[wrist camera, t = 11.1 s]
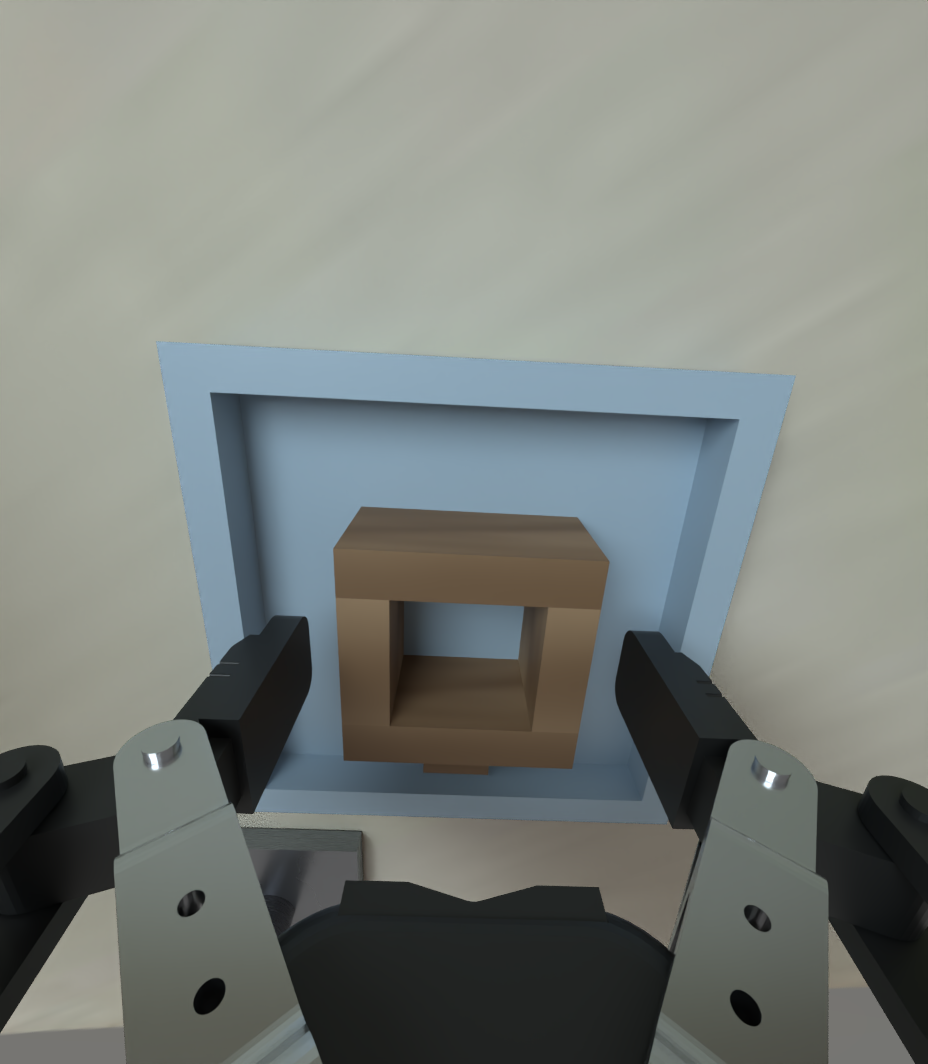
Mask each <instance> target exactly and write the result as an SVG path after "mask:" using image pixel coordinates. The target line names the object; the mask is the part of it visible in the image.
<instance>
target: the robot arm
mask: <svg viewBox="0 0 928 1064" xmlns="http://www.w3.org/2000/svg"><path fill="white" fill-rule="evenodd" d="M311 680H312V659H311V647H310V634H309V623H308V619H307V617H305V616H284V615H275V616H273V617H272V618H271V620H270V621H269V622H268V624H267V625H266V626H265V628H264V629H263V631H262V632H261V633H260V635H248V636H247V637H245V638H244V639H242V640H241V641H239V642H238V643H236V644H235V645H233V646H232V647H231V648H230V649H229V650H228V651H227V653H226V654H225V655H224V656H223V658H222V659H221V660H220V663H219V664H217V665H216V667H215V668H214V669H213V670H212V672H211V673H210V676H209V677H207V678H206V679H205V680H204V682H203V683H202V684H201V685H200V687H199V688H198V689H197V690H196V692H195V693H194V694H193V695H192V697H191V698H190V699H189V700H188V702H187V703H186V704H185V705H184V707H183V708H182V709H181V710H180V712H179V713H178V714H177V716H176V717H175V718H174V719H173V720H171V721H166V722H163V723H159V724H156V725H154V726H151V727H149V728H147V729H145V730H143V731H141V732H140V733H138V734H137V735H135V736H134V737H132V738H131V739H130V740H128V741H127V742H126V743H125V744H124V745H123V746H122V748H121V749H120V750H119V751H118V753H117V755H115V756H111V757H107V758H102V759H97V760H92V761H87V762H82V763H77V764H72V765H67V766H63V763H62V760H61V757H60V754H59V752H58V751H57V750H56V749H54V748H52V747H50V746H44V745H34V746H26V747H21V748H17V749H13V750H10V751H7V752H5V753H2V754H0V1033H1V1031H2V1030H3V1028H4V1026H5V1025H6V1023H7V1022H8V1020H9V1019H10V1017H11V1015H12V1014H13V1012H14V1011H15V1009H16V1008H17V1006H18V1004H19V1003H20V1001H21V1000H22V998H23V997H24V995H25V993H26V992H27V990H28V989H29V987H30V986H31V984H32V982H33V981H34V979H35V978H36V976H37V975H38V973H39V971H40V970H41V968H42V967H43V965H44V964H45V962H46V960H47V959H48V957H49V956H50V954H51V953H52V951H53V949H54V948H55V946H56V945H57V943H58V942H59V940H60V938H61V937H62V935H63V934H64V932H65V931H66V929H67V927H68V926H69V924H70V923H71V921H72V920H73V918H74V916H75V915H76V913H77V912H78V910H79V909H80V907H81V905H82V904H83V902H84V901H85V899H86V898H87V896H88V895H90V894H94V893H97V892H101V891H104V890H108V889H111V888H115V897H116V912H117V928H118V943H119V959H120V975H121V990H122V1006H123V1021H124V1037H125V1052H126V1064H828V920H829V921H830V923H831V925H832V926H833V928H834V930H835V931H836V933H837V934H838V936H839V938H840V939H841V941H842V943H843V944H844V946H845V948H846V949H847V951H848V953H849V954H850V956H851V958H852V959H853V961H854V963H855V964H856V966H857V968H858V969H859V971H860V973H861V974H862V976H863V978H864V979H865V981H866V983H867V984H868V986H869V988H870V989H871V991H872V993H873V994H874V996H875V998H876V999H877V1001H878V1003H879V1004H880V1006H881V1008H882V1009H883V1011H884V1013H885V1014H886V1016H887V1018H888V1019H889V1021H890V1023H891V1024H892V1026H893V1027H894V1029H895V1031H896V1033H897V1034H898V1036H899V1037H900V1039H901V1041H902V1043H903V1044H904V1046H905V1047H906V1049H907V1050H908V1052H909V1054H910V1056H911V1057H912V1059H913V1061H914V1062H915V1064H928V789H927V788H925V787H923V786H921V785H918V784H916V783H914V782H911V781H908V780H905V779H902V778H898V777H893V776H876V777H874V778H872V779H871V780H870V781H869V783H868V785H867V787H866V789H865V791H864V793H863V794H860V793H857V792H853V791H850V790H846V789H842V788H839V787H835V786H832V785H828V784H824V783H821V782H818V781H815V779H814V777H813V775H812V774H811V773H810V771H809V770H808V769H807V768H806V767H805V766H804V765H803V764H802V763H801V762H800V761H799V760H797V759H796V758H795V757H793V756H792V755H790V754H789V753H787V752H786V751H784V750H782V749H780V748H778V747H776V746H774V745H771V744H768V743H765V742H762V741H758V740H757V739H756V737H755V736H754V735H753V734H752V732H751V731H750V730H749V728H748V727H747V726H746V725H745V723H744V722H743V721H742V719H741V718H740V717H739V715H738V714H737V713H736V712H735V710H734V709H733V708H732V706H731V705H730V704H729V703H728V701H727V700H726V699H725V697H722V694H721V692H720V691H719V690H718V688H717V687H716V686H715V684H712V681H711V679H710V678H709V677H708V675H707V674H706V673H705V672H704V670H703V669H702V668H701V666H700V665H698V664H697V663H695V662H694V661H693V660H691V659H690V658H689V657H687V656H686V655H684V654H683V653H682V652H675V651H674V650H673V649H672V647H671V646H670V644H669V643H668V642H667V640H666V639H665V638H664V636H663V635H662V634H661V633H660V632H658V631H634V630H629V631H627V632H626V634H625V636H624V640H623V645H622V650H621V655H620V660H619V665H618V670H617V675H616V680H615V697H616V702H617V705H618V708H619V710H620V712H621V715H622V717H623V719H624V721H625V724H626V726H627V728H628V730H629V733H630V735H631V737H632V739H633V741H634V744H635V746H636V748H637V750H638V753H639V755H640V757H641V759H642V762H643V764H644V766H645V768H646V770H647V773H648V775H649V777H650V779H651V782H652V784H653V786H654V788H655V791H656V793H657V795H658V797H659V799H660V802H661V804H662V806H663V808H664V811H665V813H666V815H667V817H668V819H669V822H670V824H671V826H672V828H673V829H695V831H696V834H697V836H698V838H699V842H698V845H697V848H696V851H695V855H694V858H693V862H692V865H691V869H690V872H689V876H688V880H687V883H686V887H685V890H684V894H683V897H682V901H681V904H680V908H679V911H678V915H677V918H676V922H675V926H674V929H673V932H672V936H671V939H670V942H669V946H668V949H667V948H666V947H665V946H664V945H663V944H662V943H661V942H659V941H658V940H656V939H655V938H654V937H652V936H651V935H650V934H648V933H647V932H646V931H644V930H642V929H641V928H639V927H637V926H636V925H634V924H632V923H631V922H629V921H627V920H624V919H622V918H620V917H618V916H616V915H613V914H610V913H607V912H605V909H604V906H603V902H602V898H601V894H600V890H599V887H570V886H534V887H530V888H526V889H523V890H519V891H515V892H512V893H508V894H504V895H501V896H497V897H493V898H490V899H486V900H482V901H477V902H470V901H466V900H463V899H460V898H456V897H453V896H450V895H447V894H444V893H441V892H438V891H435V890H432V889H428V888H425V887H422V886H419V885H416V884H413V883H410V882H390V881H354V880H345V885H344V889H343V894H342V898H341V903H340V904H338V905H335V906H331V907H328V908H326V909H323V910H321V911H318V912H316V913H314V914H312V915H310V916H308V917H306V918H304V919H302V920H301V921H299V922H297V923H296V924H294V925H293V926H291V927H290V928H288V929H287V930H286V931H284V932H283V933H281V934H280V935H279V936H278V937H277V936H276V933H275V930H274V927H273V924H272V921H271V918H270V915H269V912H268V908H267V905H266V902H265V899H264V896H263V893H262V890H261V887H260V884H259V881H258V878H257V875H256V872H255V869H254V866H253V863H252V860H251V857H250V854H249V851H248V848H247V845H246V842H245V839H244V835H243V832H242V829H241V826H240V823H239V820H238V817H237V814H236V813H243V814H254V812H255V809H256V807H257V805H258V803H259V801H260V798H261V796H262V794H263V792H264V790H265V788H266V785H267V783H268V781H269V779H270V777H271V774H272V772H273V770H274V768H275V766H276V763H277V761H278V759H279V757H280V755H281V752H282V750H283V748H284V746H285V744H286V741H287V739H288V737H289V735H290V733H291V730H292V728H293V726H294V724H295V722H296V719H297V717H298V715H299V713H300V711H301V709H302V706H303V704H304V702H305V700H306V698H307V695H308V693H309V690H310V686H311Z"/></svg>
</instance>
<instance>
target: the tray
mask: <svg viewBox="0 0 928 1064" xmlns="http://www.w3.org/2000/svg"><path fill="white" fill-rule="evenodd" d="M156 343H157V349H158V355H159V361H160V367H161V372H162V378H163V384H164V390H165V396H166V402H167V407H168V413H169V419H170V425H171V431H172V437H173V442H174V448H175V454H176V460H177V466H178V472H179V478H180V483H181V489H182V495H183V501H184V507H185V513H186V518H187V524H188V530H189V536H190V542H191V548H192V553H193V559H194V565H195V571H196V577H197V583H198V589H199V594H200V600H201V606H202V612H203V618H204V624H205V629H206V635H207V641H208V647H209V653H210V659H211V664H212V670H213V669H214V668H215V667H216V665H217V664H219V663H220V660H221V659H222V658H223V656H224V655H225V654H226V653H227V651H228V650H229V649H230V648H231V647H232V646H233V645H235V644H236V643H238V642H239V641H241V640H242V639H244V638H245V637H247V636H248V635H260V633H261V632H262V631H263V629H264V628H265V626H266V625H267V624H268V622H269V621H270V620H271V618H272V617H273V616H275V615H284V616H305V617H307V619H308V623H309V634H310V647H311V659H312V680H311V686H310V690H309V693H308V695H307V698H306V700H305V702H304V704H303V706H302V709H301V711H300V713H299V715H298V717H297V719H296V722H295V724H294V726H293V728H292V730H291V733H290V735H289V737H288V739H287V741H286V744H285V746H284V748H283V750H282V752H281V755H280V757H279V759H278V761H277V763H276V766H275V768H274V770H273V772H272V774H271V777H270V779H269V781H268V783H267V785H266V788H265V790H264V792H263V794H262V796H261V798H260V801H259V803H258V805H257V807H256V809H255V812H283V813H315V814H347V815H380V816H412V817H444V818H476V819H509V820H541V821H573V822H605V823H638V824H667V821H668V817H667V815H666V813H665V811H664V808H663V806H662V804H661V802H660V799H659V797H658V795H657V793H656V791H655V788H654V786H653V784H652V782H651V779H650V777H649V775H648V773H647V770H646V768H645V766H644V764H643V762H642V759H641V757H640V755H639V753H638V750H637V748H636V746H635V744H634V741H633V739H632V737H631V735H630V733H629V730H628V728H627V726H626V724H625V721H624V719H623V717H622V715H621V712H620V710H619V708H618V705H617V702H616V697H615V680H616V675H617V670H618V665H619V660H620V655H621V650H622V645H623V640H624V636H625V634H626V632H627V631H629V630H634V631H658V632H660V633H661V634H662V635H663V636H664V638H665V639H666V640H667V642H668V643H669V644H670V646H671V647H672V649H673V650H674V651H675V652H682V653H683V654H684V655H686V656H687V657H689V658H690V659H691V660H693V661H694V662H695V663H697V664H698V665H700V666H701V668H702V669H703V670H704V672H705V673H706V674H707V675H708V677H709V675H710V672H711V669H712V665H713V662H714V658H715V655H716V651H717V648H718V644H719V641H720V637H721V634H722V630H723V627H724V623H725V620H726V616H727V613H728V610H729V606H730V603H731V599H732V596H733V592H734V589H735V585H736V582H737V578H738V575H739V571H740V568H741V564H742V561H743V557H744V554H745V550H746V547H747V544H748V540H749V537H750V533H751V530H752V526H753V523H754V519H755V516H756V512H757V509H758V505H759V502H760V498H761V495H762V491H763V488H764V484H765V481H766V478H767V474H768V471H769V467H770V464H771V460H772V457H773V453H774V450H775V446H776V443H777V439H778V436H779V432H780V429H781V425H782V422H783V419H784V415H785V412H786V408H787V405H788V401H789V398H790V394H791V391H792V387H793V384H794V380H795V377H796V376H793V375H774V374H755V373H737V372H718V371H699V370H681V369H662V368H644V367H625V366H606V365H588V364H569V363H550V362H532V361H513V360H494V359H476V358H457V357H438V356H420V355H401V354H382V353H364V352H345V351H327V350H308V349H289V348H271V347H252V346H233V345H215V344H196V343H177V342H159V341H156ZM361 506H362V507H382V508H402V509H422V510H443V511H463V512H483V513H503V514H523V515H543V516H563V517H578V519H579V520H580V521H581V523H582V524H583V526H584V527H585V528H586V530H587V531H588V532H589V534H590V535H591V537H592V538H593V539H594V541H595V542H596V543H597V545H598V546H599V548H600V549H601V550H602V552H603V553H604V554H605V556H606V557H607V559H608V560H609V561H610V563H609V569H608V574H607V580H606V585H605V591H604V596H603V602H602V607H601V613H600V618H599V624H598V629H597V635H596V640H595V646H594V651H593V657H592V663H591V668H590V674H589V679H588V685H587V690H586V696H585V701H584V707H583V712H582V718H581V723H580V729H579V734H578V740H577V745H576V751H575V756H574V762H573V767H572V769H558V768H530V767H503V766H489V770H488V775H474V774H447V773H423V764H421V763H393V762H366V761H344V757H343V737H342V717H341V697H340V677H339V657H338V637H337V617H336V597H335V577H334V557H333V548H334V546H335V545H336V543H337V542H338V540H339V539H340V537H341V536H342V535H343V533H344V532H345V530H346V529H347V527H348V526H349V524H350V523H351V521H352V520H353V518H354V517H355V515H356V514H357V512H358V511H359V509H360V508H361ZM523 613H524V606H505V605H482V604H460V603H438V602H416V601H404V655H423V656H447V657H471V658H494V659H518V656H519V648H520V639H521V630H522V621H523Z"/></svg>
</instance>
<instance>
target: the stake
mask: <svg viewBox="0 0 928 1064" xmlns="http://www.w3.org/2000/svg"><path fill="white" fill-rule="evenodd" d="M241 829H242V832H243V835H244V839H245V842H246V845H247V848H248V851H249V854H250V857H251V860H252V863H253V866H254V869H255V872H256V875H257V878H258V881H259V884H260V887H261V890H262V893H263V896H264V899H265V902H266V905H267V908H268V912H269V915H270V918H271V921H272V924H273V927H274V930H275V933H276V936H277V937H278V936H279V935H280V934H281V933H283V932H284V931H286V930H287V929H288V928H290V927H291V926H293V925H294V924H296V923H297V922H299V921H301V920H302V919H304V918H306V917H308V916H310V915H312V914H314V913H316V912H318V911H321V910H323V909H326V908H328V907H331V906H335V905H338V904H340V903H341V898H342V894H343V889H344V885H345V880H354V881H363V859H362V834H361V831H330V830H297V829H263V828H241Z"/></svg>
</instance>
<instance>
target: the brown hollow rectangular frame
mask: <svg viewBox="0 0 928 1064" xmlns="http://www.w3.org/2000/svg"><path fill="white" fill-rule="evenodd" d="M333 557H334V577H335V597H336V617H337V637H338V657H339V677H340V697H341V717H342V737H343V757H344V761H366V762H393V763H421V764H423V773H447V774H474V775H488V770H489V766H503V767H530V768H558V769H572V767H573V762H574V756H575V751H576V745H577V740H578V734H579V729H580V723H581V718H582V712H583V707H584V701H585V696H586V690H587V685H588V679H589V674H590V668H591V663H592V657H593V651H594V646H595V640H596V635H597V629H598V624H599V618H600V613H601V607H602V602H603V596H604V591H605V585H606V580H607V574H608V569H609V563H610V561H609V560H608V559H607V557H606V556H605V554H604V553H603V552H602V550H601V549H600V548H599V546H598V545H597V543H596V542H595V541H594V539H593V538H592V537H591V535H590V534H589V532H588V531H587V530H586V528H585V527H584V526H583V524H582V523H581V521H580V520H579V519H578V517H563V516H543V515H523V514H503V513H483V512H463V511H443V510H422V509H402V508H382V507H362V506H361V508H360V509H359V511H358V512H357V514H356V515H355V517H354V518H353V520H352V521H351V523H350V524H349V526H348V527H347V529H346V530H345V532H344V533H343V535H342V536H341V537H340V539H339V540H338V542H337V543H336V545H335V546H334V548H333ZM404 601H416V602H438V603H460V604H482V605H505V606H524V613H523V621H522V630H521V639H520V648H519V656H518V659H494V658H471V657H447V656H423V655H404Z"/></svg>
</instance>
